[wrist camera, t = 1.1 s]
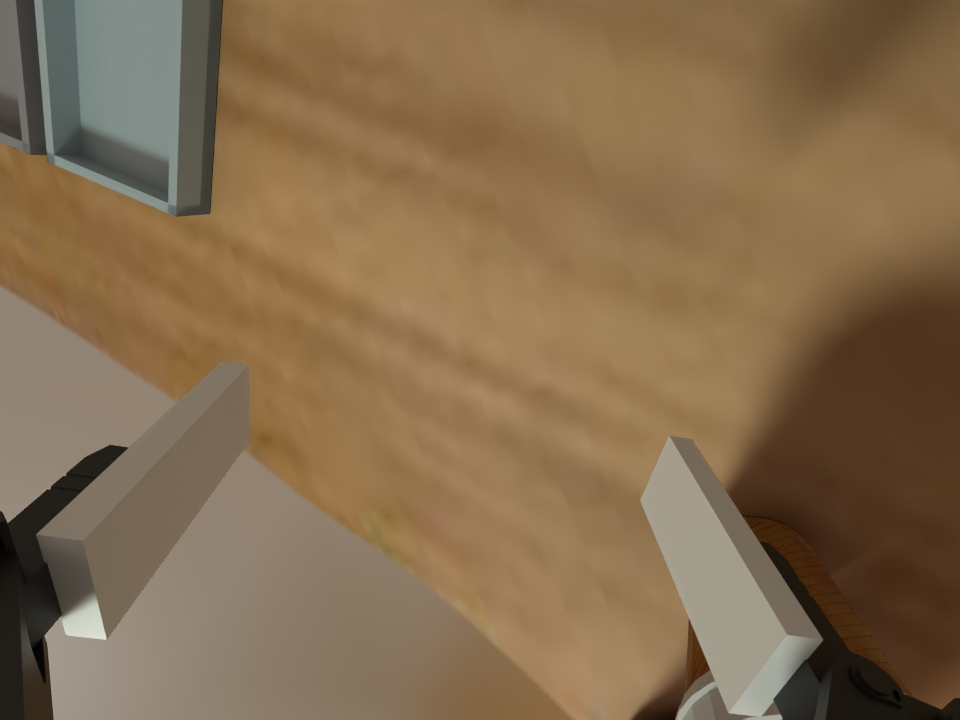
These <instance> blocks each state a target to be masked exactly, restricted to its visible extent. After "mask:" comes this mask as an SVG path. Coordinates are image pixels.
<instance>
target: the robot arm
mask: <svg viewBox="0 0 960 720" xmlns="http://www.w3.org/2000/svg"><path fill="white" fill-rule="evenodd" d="M249 441H250V411H249V368H248V365H244V364H238V363H232V362H226V361H221V362H220V363H219V364H218V365H217V366H216V367H215V368H214V369H213V370H212V371H210V372H209V373H208V374H207V375H206V376H205V377H204V378H203V379H202V380H201V381H200V382H199V383H198V384H197V385H195V386H194V387H193V388H192V389H191V390H190V391H189V392H188V393H187V394H186V395H185V396H184V397H183V398H182V399H181V400H179V401H178V402H177V403H176V404H175V405H174V406H173V407H172V408H171V409H170V410H169V411H168V412H167V413H166V414H165V415H163V416H162V417H161V418H160V419H159V420H158V421H157V422H156V423H155V424H154V425H153V426H152V427H151V428H149V429H148V430H147V431H146V432H145V433H144V434H143V435H142V436H141V437H140V438H139V439H138V440H137V441H136V442H135V443H133V444H132V445H131V446H130V447H129V448H127V447H121V446H114V445H109V446H107V447H105V448H103V449H101V450H99V451H97V452H95V453H93V454H91V455H89V456H87V457H85V458H84V459H83V460H81V461H80V462H79V463H78V464H77V465H76V466H74V467H73V468H72V469H71V470H70V471H69V472H67V475H66V476H63V477H62V478H60V479H59V480H58V481H57V482H56V483H54V484H53V485H52V486H51V489H50V490H46V491H45V492H44V493H43V494H42V495H41V496H40V497H38V498H37V499H36V500H35V501H33V502H32V503H31V504H30V505H29V506H28V507H27V508H25V509H24V510H23V511H22V512H21V513H20V514H18V515H17V516H16V517H15V518H14V519H12V520H11V521H10V522H9V523H8V524H7V521H6V519H5V517H4V515H3V513H2V512H1V511H0V720H53V709H52V697H51V685H50V672H49V660H48V648H47V642H46V639H45V637H44V635H45V634H46V633H47V632H48V630H49V629H50V628H51V627H52V626H53V625H54V623H55V622H56V621H57V620H58V619H59V617H60V616H61V620H62V623H63V626H64V630H65V633H66V635H69V636H78V637H87V638H95V639H104V640H107V639H108V637H109V636H110V635H111V633H112V632H113V630H114V629H115V628H116V626H117V625H118V623H119V622H120V621H121V619H122V618H123V617H124V615H125V614H126V612H127V611H128V610H129V608H130V607H131V605H132V604H133V602H134V601H135V600H136V598H137V597H138V595H139V594H140V593H141V591H142V590H143V589H144V587H145V586H146V585H147V583H148V582H149V580H150V579H151V578H152V576H153V575H154V573H155V572H156V571H157V569H158V568H159V566H160V565H161V564H162V562H163V561H164V559H165V558H166V557H167V555H168V554H169V553H170V551H171V550H172V548H173V547H174V546H175V544H176V543H177V541H178V540H179V539H180V537H181V536H182V534H183V533H184V532H185V530H186V529H187V527H188V526H189V525H190V523H191V522H192V520H193V519H194V518H195V516H196V515H197V514H198V512H199V511H200V509H201V508H202V507H203V505H204V504H205V502H206V501H207V500H208V498H209V497H210V495H211V494H212V493H213V491H214V490H215V488H216V487H217V486H218V484H219V483H220V482H221V480H222V479H223V477H224V476H225V475H226V473H227V472H228V470H229V469H230V468H231V466H232V465H233V463H234V462H235V461H236V459H237V458H238V456H239V455H240V454H241V452H242V451H243V449H244V448H245V447H246V445H247V444H248V443H249ZM640 501H641V504H642V506H643V509H644V511H645V514H646V516H647V518H648V521H649V523H650V526H651V528H652V530H653V533H654V535H655V538H656V540H657V542H658V545H659V547H660V550H661V552H662V554H663V557H664V559H665V562H666V564H667V566H668V569H669V571H670V574H671V576H672V578H673V581H674V583H675V586H676V588H677V591H678V593H679V595H680V598H681V600H682V603H683V605H684V607H685V610H686V612H687V615H688V617H689V619H690V622H691V624H692V627H693V629H694V631H695V634H696V636H697V639H698V641H699V643H700V646H701V648H702V651H703V653H704V656H705V658H706V660H707V663H708V665H709V668H710V670H711V672H712V675H713V677H714V680H715V682H716V684H717V687H718V689H719V692H720V694H721V696H722V699H723V701H724V704H725V706H726V708H727V711H728V713H731V714H739V715H748V716H756V717H761V716H762V715H763V714H764V713H765V711H766V710H767V709H768V708H769V706H770V705H771V704H772V703H773V701H774V702H775V704H776V706H777V708H778V710H779V712H780V714H781V716H782V718H783V719H782V720H960V698H954V699H953V700H952V701H951V702H950V703H949V704H947V705H946V706H945V707H944V708H943V709H942V710H941V709H939V708H936V707H934V706H931V705H929V704H927V703H924V702H922V701H920V700H917V699H915V698H912V697H910V696H908V695H905V694H904V693H903V691H902V690H901V688H900V687H899V685H898V684H897V683H896V682H895V681H894V680H893V679H892V678H891V677H890V676H889V675H888V674H887V672H885V671H884V670H883V669H881V668H880V667H879V666H877V665H876V664H875V663H873V662H872V661H870V660H868V659H866V658H864V657H863V656H861V655H859V654H855V653H851V652H850V650H849V649H848V647H847V646H846V644H845V643H844V642H843V640H842V639H841V637H840V636H839V634H838V633H837V631H836V630H835V629H834V627H833V626H832V624H831V623H830V621H829V620H828V618H827V617H826V616H825V614H824V613H823V611H822V610H821V608H820V607H819V605H818V604H817V603H816V601H815V600H814V598H813V597H812V596H810V595H809V593H810V592H809V591H808V590H807V588H806V587H805V585H804V584H803V582H802V581H799V577H798V575H797V574H796V572H795V571H794V569H793V568H792V566H791V565H790V564H789V562H788V561H787V559H786V558H785V557H783V556H782V555H781V554H780V553H779V552H778V551H777V550H776V549H775V548H774V547H773V546H772V545H771V544H770V543H768V542H761V541H758V539H757V538H756V536H755V535H754V533H753V532H752V530H751V529H750V527H749V526H748V524H747V523H746V521H745V520H744V518H743V517H742V515H741V513H740V512H739V510H738V509H737V507H736V506H735V504H734V503H733V501H732V500H731V498H730V497H729V495H728V494H727V492H726V491H725V489H724V488H723V486H722V484H721V483H720V481H719V480H718V478H717V477H716V475H715V474H714V472H713V471H712V469H711V468H710V466H709V465H708V463H707V462H706V460H705V459H704V457H703V456H702V454H701V452H700V451H699V449H698V448H697V446H696V445H695V443H694V442H693V440H692V439H687V438H681V437H675V436H669V437H668V439H667V442H666V444H665V446H664V448H663V451H662V453H661V455H660V457H659V459H658V462H657V464H656V466H655V468H654V471H653V473H652V475H651V477H650V479H649V482H648V484H647V486H646V488H645V491H644V493H643V495H642V497H641V500H640Z"/></svg>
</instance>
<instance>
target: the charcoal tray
mask: <svg viewBox="0 0 960 720" xmlns="http://www.w3.org/2000/svg"><path fill="white" fill-rule="evenodd" d="M0 142H2V143H5V144H7V145H9V146H12V147H14V148H16V149H19V150H21V151H23V152H26V153H28V154H30V155H47V150H46V138H45V125H44V113H43V101H42V89H41V76H40V64H39V52H38V40H37V28H36V15H35V3H34V0H0Z"/></svg>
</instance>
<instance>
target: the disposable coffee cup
mask: <svg viewBox="0 0 960 720" xmlns="http://www.w3.org/2000/svg"><path fill="white" fill-rule="evenodd" d="M743 518H744V520H745V521H746V523H747V524H748V526H749V527H750V529H751V530H752V532H753V533H754V535H755V536H756V538H757V539H758V541H761V542H768V543H770V544H771V545H772V546H773V547H774V548H775V549H776V550H777V551H778V552H779V553H780V554H781V555H782V556H783V557H785V558H786V559H787V561H788V562H789V564H790V565H791V566H792V568H793V569H794V571H795V572H796V574H797V575H798V577H799V581H802V582H803V584H804V585H805V587H806V588H807V590H808V591H809V592H810V593H809V595H810V596H812V597H813V598H814V600H815V601H816V603H817V604H818V605H819V607H820V608H821V610H822V611H823V613H824V614H825V616H826V617H827V618H828V620H829V621H830V623H831V624H832V626H833V627H834V629H835V630H836V631H837V633H838V634H839V636H840V637H841V639H842V640H843V642H844V643H845V644H846V646H847V647H848V649H849V650H850V652H851V653H855V654H859V655H861V656H863V657H864V658H866V659H868V660H870V661H872V662H873V663H875V664H876V665H877V666H879V667H880V668H881V669H883V670H884V671H885V672H887V674H888V675H889V676H890V677H891V678H892V679H893V680H894V681H895V682H896V683H897V684H898V685H899V687H900V688H901V690H902V691H903V693H904V694H905V695H908V696H910V697H912V695H911V693H908V692H907V691H908V690H907V689H906V687H905V685H904V684H903V682H902V680H901V679H900V678H898V675H897V674H896V672H895V671H894V669H893V667H892V666H891V664H890V663H888V660H887V658H886V657H885V656H884V654H883V653H882V652H881V650H880V649H879V647H878V646H877V644H876V642H875V641H874V639H873V638H871V635H870V634H869V632H868V630H867V629H866V627H865V626H863V623H862V622H861V620H860V619H859V618H858V616H857V615H856V613H855V611H854V610H853V609H852V607H851V606H850V604H848V603H849V602H848V601H847V599H846V598H845V597H844V596H843V594H842V592H841V591H840V589H839V588H838V587H837V585H836V583H835V582H834V581H833V579H832V578H831V576H830V575H829V573H828V572H827V570H826V569H825V568H824V566H823V564H822V563H821V562H820V560H819V558H818V557H817V556H816V554H815V553H814V551H813V549H812V547H811V546H810V545H809V544H808V542H807V541H806V540H805V539H804V538H803V537H802V536H801V535H800V534H799V533H798V532H796V531H795V530H793V529H791V528H790V527H788V526H786V525H784V524H781V523H779V522H777V521H773V520H769V519H765V518H758V517H743ZM912 698H913V697H912ZM782 719H783V718H782V716H781V714H780V712H779V710H778V708H777V706H776V704H775V702H774V701H773V703H772V704H771V705H770V706H769V708H768V709H767V710H766V711H765V713H764V714H763V715H762V716H761V717H756V716H748V715H739V714H731V713H728V711H727V708H726V706H725V704H724V701H723V699H722V696H721V694H720V692H719V689H718V687H717V684H716V682H715V680H714V677H713V675H712V672H711V670H710V668H709V665H708V663H707V660H706V658H705V656H704V653H703V651H702V648H701V646H700V643H699V641H698V639H697V636H696V634H695V631H694V629H693V627H692V624H691V622H690V619H689V632H688V649H687V666H686V678H685V694H684V697H683V700H682V703H681V705H680V706H679V709H678V712H677V715H676V718H675V720H782Z"/></svg>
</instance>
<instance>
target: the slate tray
mask: <svg viewBox="0 0 960 720" xmlns="http://www.w3.org/2000/svg"><path fill="white" fill-rule="evenodd" d="M34 3H35V15H36V28H37V40H38V52H39V64H40V76H41V89H42V101H43V113H44V125H45V138H46V150H47V162H49V163H52V164H54V165H56V166H59V167H61V168H63V169H66V170H68V171H70V172H73V173H75V174H77V175H80V176H82V177H84V178H87V179H89V180H91V181H94V182H96V183H98V184H101V185H103V186H105V187H108V188H110V189H113V190H115V191H117V192H120V193H122V194H124V195H127V196H129V197H131V198H134V199H136V200H138V201H141V202H143V203H145V204H148V205H150V206H152V207H155V208H157V209H159V210H162V211H164V212H167V213H169V214H171V215H174V216H176V217H177V216H189V215H201V214H210V203H211V186H212V169H213V152H214V135H215V118H216V101H217V84H218V67H219V50H220V33H221V16H222V0H34Z"/></svg>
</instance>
